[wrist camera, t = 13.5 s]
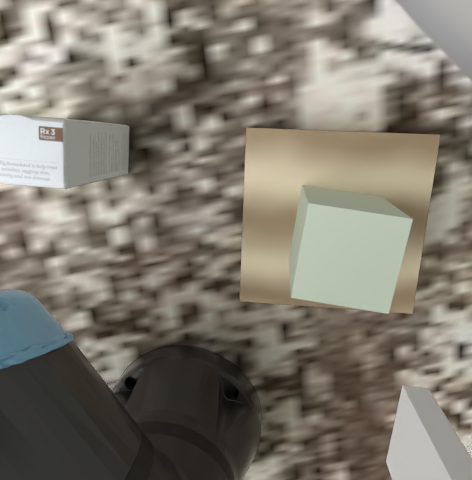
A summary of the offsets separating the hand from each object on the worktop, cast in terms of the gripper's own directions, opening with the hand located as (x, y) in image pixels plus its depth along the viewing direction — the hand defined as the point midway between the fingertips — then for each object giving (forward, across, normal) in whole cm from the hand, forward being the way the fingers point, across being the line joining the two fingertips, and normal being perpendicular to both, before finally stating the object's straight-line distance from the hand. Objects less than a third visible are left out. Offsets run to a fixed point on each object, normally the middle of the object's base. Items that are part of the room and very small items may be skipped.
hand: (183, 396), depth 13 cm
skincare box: (+25, +13, -6) cm, 29 cm away
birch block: (+25, -7, -2) cm, 26 cm away
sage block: (+21, -8, -1) cm, 23 cm away
